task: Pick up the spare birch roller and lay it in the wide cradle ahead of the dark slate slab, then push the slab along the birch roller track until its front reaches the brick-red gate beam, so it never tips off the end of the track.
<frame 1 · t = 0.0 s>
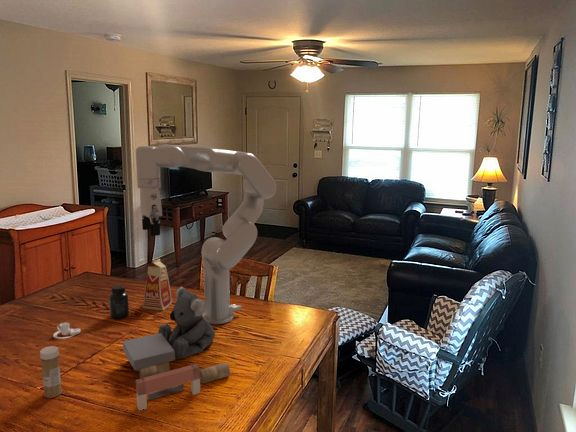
hand: (151, 232, 167), 37 cm above the table, tool pointing down, fingers open, 9 cm apart
gate stop: (169, 399, 133), on the table
sprinkles bottle: (53, 394, 135), on the table
slab: (148, 355, 149), point 4 cm above the table, touching roller track
koala plush: (189, 345, 164), on the table
supplement bottle: (119, 316, 187), on the table
milk carton: (157, 305, 198), on the table
roller track: (149, 367, 149), on the table
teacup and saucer: (66, 338, 169), on the table
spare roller: (214, 378, 144), on the table
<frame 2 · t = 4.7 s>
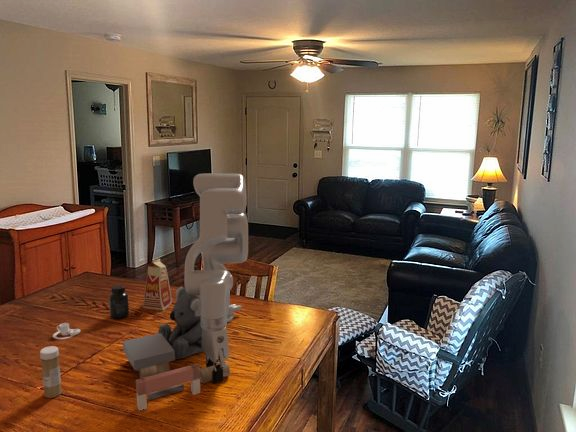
hand: (214, 377, 144), 0 cm above the table, tool pointing down, fingers closed on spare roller, 4 cm apart
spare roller: (214, 378, 144), on the table, touching gripper
everything else where it was.
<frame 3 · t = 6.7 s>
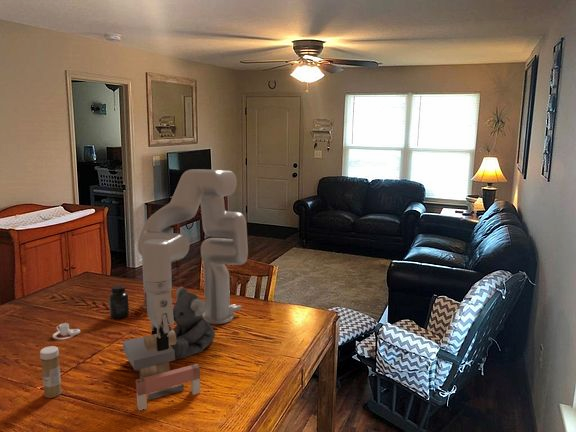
hand: (160, 345, 136), 13 cm above the table, tool pointing down, fingers closed on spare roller, 4 cm apart
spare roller: (160, 347, 136), point 13 cm above the table, touching gripper
everything else where it was.
when the fingers open (2 cm above the table, at t = 9.0 s): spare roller drops 2 cm, on the table.
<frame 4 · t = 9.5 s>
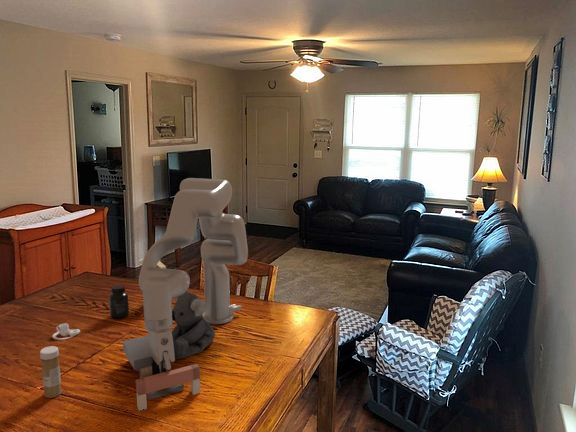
hand: (161, 379, 138), 2 cm above the table, tool pointing down, fingers open, 6 cm apart
slab: (148, 354, 149), point 4 cm above the table, touching gripper, roller track
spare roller: (162, 388, 138), on the table
everything else where it was.
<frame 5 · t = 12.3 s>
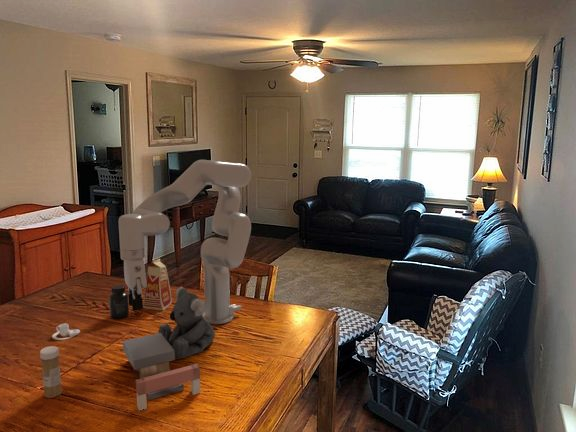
hand: (135, 306, 157), 15 cm above the table, tool pointing down, fingers open, 3 cm apart
slab: (148, 354, 149), point 4 cm above the table, touching roller track
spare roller: (162, 388, 138), on the table, tilted 19°
everything else where it was.
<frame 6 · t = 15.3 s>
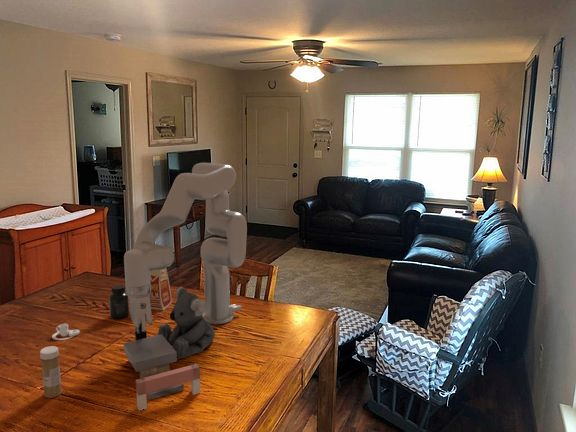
hand: (141, 343, 155), 5 cm above the table, tool pointing down, fingers closed
slab: (150, 356, 148), point 4 cm above the table, touching gripper
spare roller: (162, 388, 138), on the table, tilted 7°
everything else where it was.
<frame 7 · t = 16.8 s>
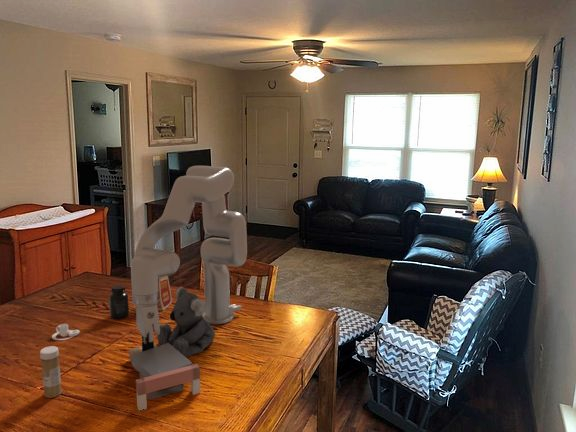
hand: (148, 353, 148), 5 cm above the table, tool pointing down, fingers closed
slab: (161, 368, 141), point 4 cm above the table, touching gripper, roller track, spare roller
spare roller: (162, 388, 139), on the table, tilted 11°, touching slab
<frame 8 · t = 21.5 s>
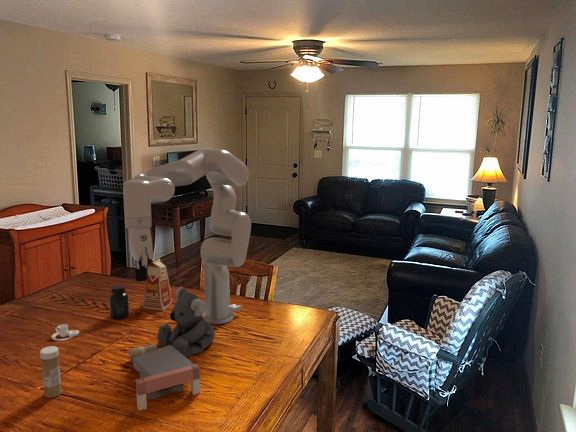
hand: (141, 280, 147), 27 cm above the table, tool pointing down, fingers closed
slab: (163, 370, 140), point 4 cm above the table, touching gate stop, roller track, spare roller
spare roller: (163, 385, 140), on the table, tilted 21°, touching slab
at the end: slab inside the target area (1.5 cm from its centre), point 3.9 cm above the table; slab tilted 4°; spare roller inside the target area (3.4 cm from its centre), on the table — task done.
